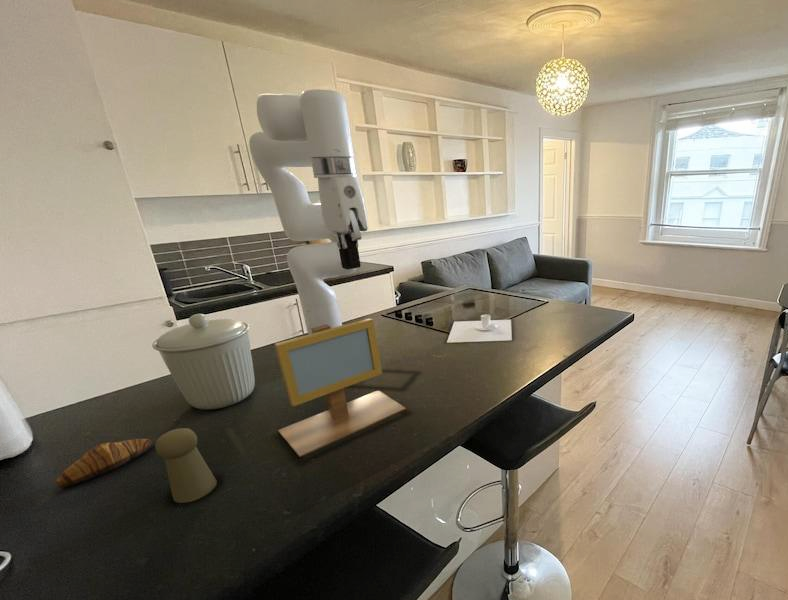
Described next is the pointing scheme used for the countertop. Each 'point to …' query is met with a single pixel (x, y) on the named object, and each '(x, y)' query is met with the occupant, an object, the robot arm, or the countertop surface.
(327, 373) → the picture frame
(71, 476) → the croissant
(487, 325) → the teacup and saucer
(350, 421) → the display stand
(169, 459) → the cork
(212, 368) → the canister
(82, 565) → the countertop surface
